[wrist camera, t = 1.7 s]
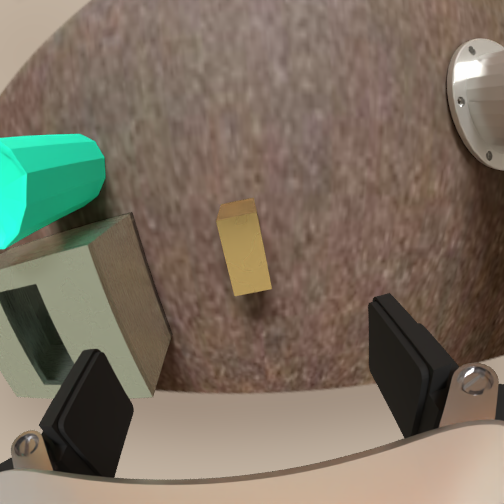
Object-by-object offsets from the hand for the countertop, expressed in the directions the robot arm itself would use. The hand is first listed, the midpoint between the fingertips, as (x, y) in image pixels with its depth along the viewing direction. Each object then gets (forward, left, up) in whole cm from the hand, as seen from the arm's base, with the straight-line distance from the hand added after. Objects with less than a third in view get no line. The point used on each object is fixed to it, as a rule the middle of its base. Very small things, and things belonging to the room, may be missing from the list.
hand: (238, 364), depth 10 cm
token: (0, 0, -15) cm, 15 cm away
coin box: (+15, +2, -15) cm, 21 cm away
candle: (+12, -8, -15) cm, 21 cm away
